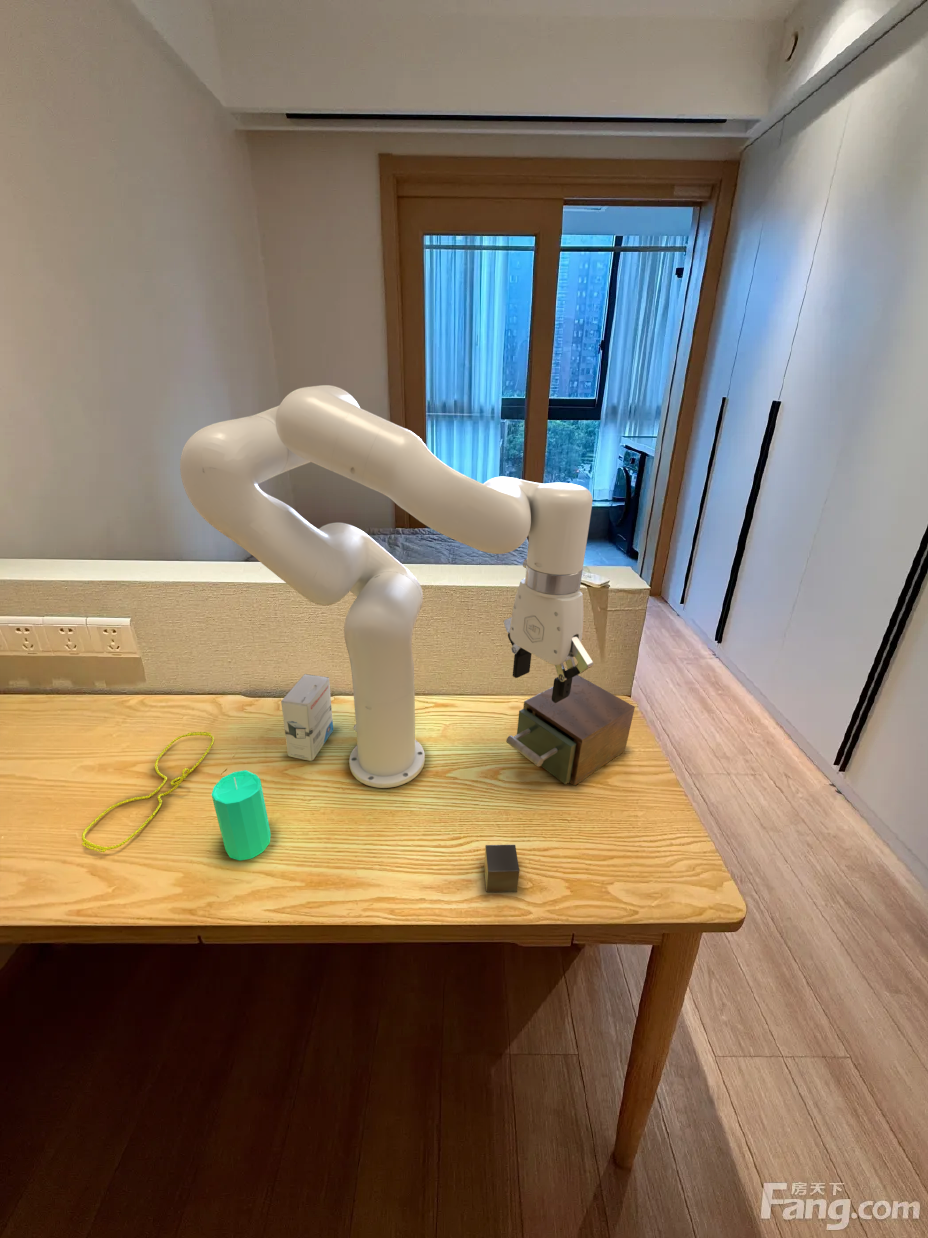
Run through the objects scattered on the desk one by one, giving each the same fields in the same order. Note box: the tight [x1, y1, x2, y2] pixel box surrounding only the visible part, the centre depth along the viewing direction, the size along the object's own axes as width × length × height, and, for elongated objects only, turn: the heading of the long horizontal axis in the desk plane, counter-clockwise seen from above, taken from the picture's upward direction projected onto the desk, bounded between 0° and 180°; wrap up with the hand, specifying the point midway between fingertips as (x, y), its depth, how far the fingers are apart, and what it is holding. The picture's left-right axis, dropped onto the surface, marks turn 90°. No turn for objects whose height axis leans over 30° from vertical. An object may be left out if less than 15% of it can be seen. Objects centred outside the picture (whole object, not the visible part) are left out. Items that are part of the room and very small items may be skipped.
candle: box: [211, 769, 272, 862], centre depth 70 cm, size 6×6×12 cm
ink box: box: [280, 673, 334, 762], centre depth 88 cm, size 9×5×12 cm, turn 168°
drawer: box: [505, 708, 578, 785], centre depth 87 cm, size 18×11×8 cm, turn 130°
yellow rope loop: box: [81, 731, 215, 853], centre depth 79 cm, size 25×10×5 cm, turn 172°
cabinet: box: [522, 674, 636, 786], centre depth 90 cm, size 14×13×10 cm
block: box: [483, 844, 520, 893], centre depth 68 cm, size 4×4×4 cm
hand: (540, 685), depth 78 cm, fingers open, 7 cm apart
